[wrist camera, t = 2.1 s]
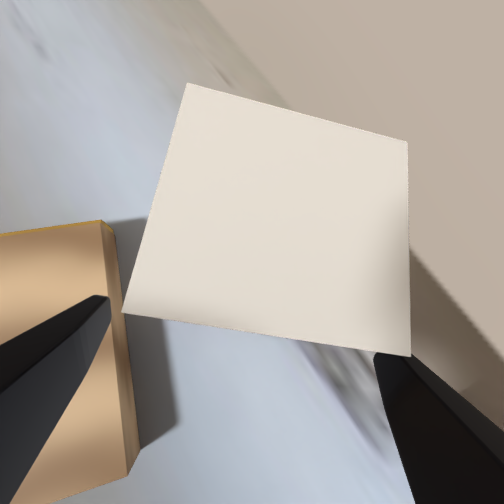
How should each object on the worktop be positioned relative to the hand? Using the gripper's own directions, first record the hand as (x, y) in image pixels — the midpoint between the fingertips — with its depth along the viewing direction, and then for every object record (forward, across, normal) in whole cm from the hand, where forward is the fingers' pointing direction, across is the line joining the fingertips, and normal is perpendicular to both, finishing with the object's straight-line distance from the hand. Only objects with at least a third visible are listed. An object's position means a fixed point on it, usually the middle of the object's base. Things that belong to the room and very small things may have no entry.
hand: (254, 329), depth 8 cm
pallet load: (+9, 0, +5) cm, 11 cm away
